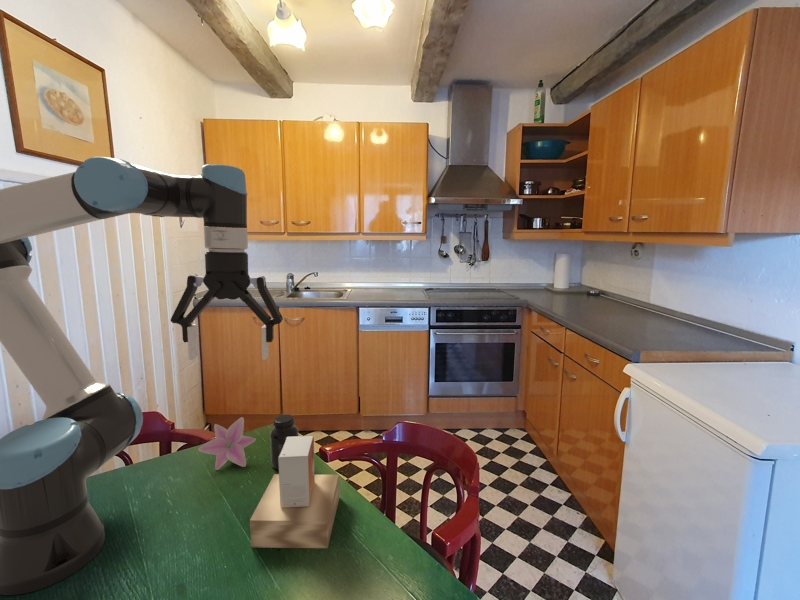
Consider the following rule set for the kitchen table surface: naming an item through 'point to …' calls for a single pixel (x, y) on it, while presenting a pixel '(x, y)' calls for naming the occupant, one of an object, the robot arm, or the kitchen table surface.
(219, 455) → the lily
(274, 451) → the supplement bottle
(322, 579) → the kitchen table surface
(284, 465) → the small box
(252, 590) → the kitchen table surface
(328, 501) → the riser
